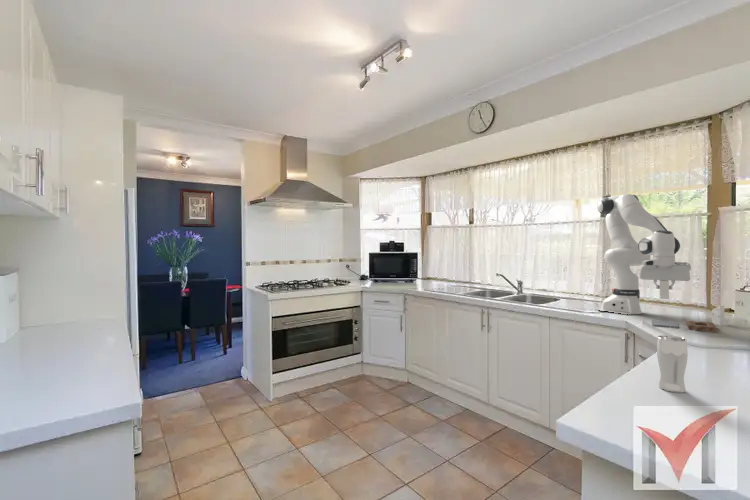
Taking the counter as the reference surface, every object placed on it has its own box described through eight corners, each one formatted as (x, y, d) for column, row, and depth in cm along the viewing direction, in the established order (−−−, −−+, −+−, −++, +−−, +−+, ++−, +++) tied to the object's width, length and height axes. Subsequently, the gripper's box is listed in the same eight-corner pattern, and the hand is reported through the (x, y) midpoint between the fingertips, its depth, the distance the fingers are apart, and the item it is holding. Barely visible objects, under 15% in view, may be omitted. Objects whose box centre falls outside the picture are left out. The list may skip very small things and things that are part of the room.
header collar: (689, 329, 174) (689, 325, 174) (685, 324, 185) (685, 320, 185) (717, 332, 168) (717, 328, 168) (712, 326, 179) (712, 322, 179)
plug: (660, 298, 183) (660, 280, 183) (659, 297, 187) (659, 279, 187) (668, 298, 181) (668, 281, 181) (668, 297, 185) (668, 280, 185)
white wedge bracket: (726, 322, 177) (720, 305, 181) (713, 328, 186) (707, 312, 190) (735, 322, 177) (728, 305, 181) (722, 328, 185) (716, 312, 189)
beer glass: (651, 385, 109) (650, 335, 109) (672, 383, 109) (672, 334, 109) (671, 394, 102) (671, 341, 102) (694, 393, 102) (694, 340, 102)
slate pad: (652, 325, 183) (652, 324, 183) (651, 321, 192) (651, 320, 192) (678, 328, 177) (678, 326, 177) (675, 323, 187) (675, 322, 187)
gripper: (690, 261, 181) (690, 289, 181) (639, 261, 193) (639, 287, 193) (691, 262, 176) (691, 290, 176) (639, 262, 188) (639, 288, 188)
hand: (664, 289), depth 184 cm, fingers closed on plug, 3 cm apart
